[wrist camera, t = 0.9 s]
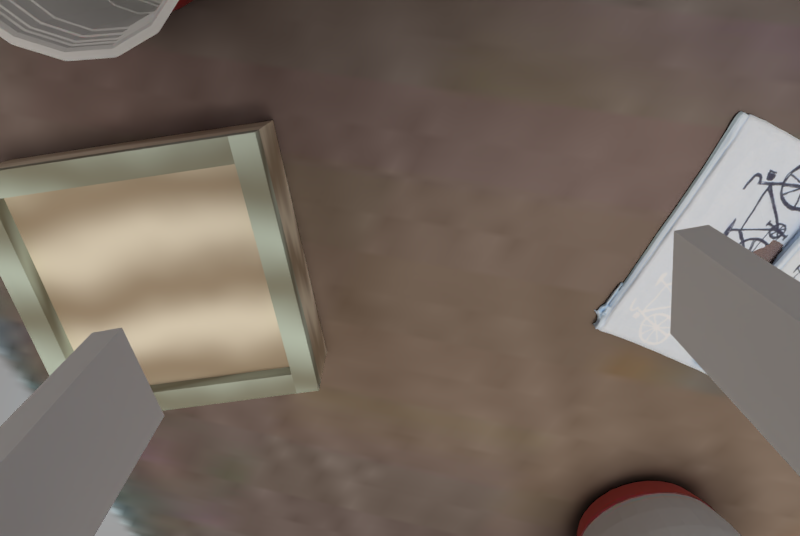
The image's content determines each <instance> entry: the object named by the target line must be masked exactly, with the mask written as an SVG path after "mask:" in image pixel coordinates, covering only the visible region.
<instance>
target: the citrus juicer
mask: <svg viewBox="0 0 800 536" xmlns="http://www.w3.org/2000/svg"><path fill="white" fill-rule="evenodd" d="M577 536H741V535H740V534H739V533H738V532H737V531H736V530H735V529H734V528H733V527H732V526H731V525H730V524H729V523H728V522H727V521H726V520H725V519H723V518H722V517H721V516H720V515H719V514H717V513H716V512H715V511H714V510H713V508H712V507H711V506H710V505H708V504H707V503H705V502H704V501H702V500H701V499H699V498H698V497H696V496H695V495H693V494H692V493H690V492H689V491H687V490H686V489H684V488H682V487H680V486H678V485H675V484H672V483H668V482H663V481H641V482H634V483H630V484H626V485H623V486H620V487H618V488H615V489H612V490H610V491H609V492H607V493H606V494H604V495H602V496H601V497H599V498H598V499H597V500H596V501H595V502H593V503H592V504H591V505H590V506H589V508H588V509H587V510H586V511H585V512H584V514H583V516H582V518H581V520H580V522H579V526H578V529H577Z"/></svg>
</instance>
